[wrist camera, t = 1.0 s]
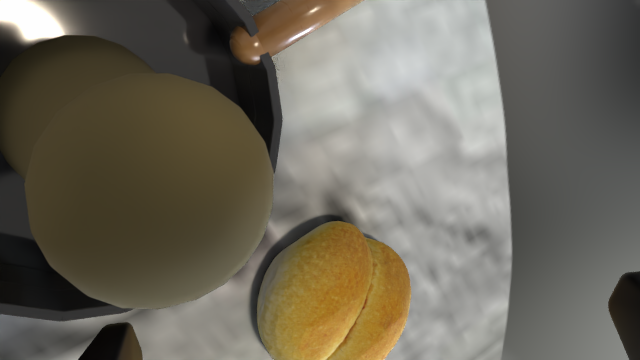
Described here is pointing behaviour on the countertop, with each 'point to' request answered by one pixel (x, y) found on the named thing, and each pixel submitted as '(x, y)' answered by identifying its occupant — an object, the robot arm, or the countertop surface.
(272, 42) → the pan handle
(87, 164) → the olive gourd
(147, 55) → the pan
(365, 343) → the bread roll
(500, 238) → the countertop surface
